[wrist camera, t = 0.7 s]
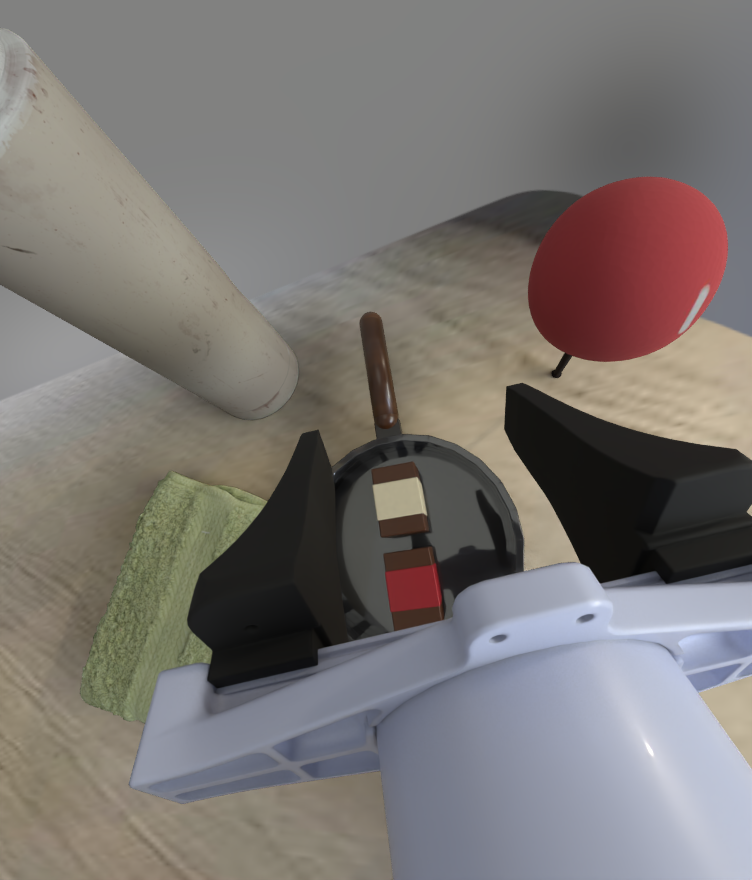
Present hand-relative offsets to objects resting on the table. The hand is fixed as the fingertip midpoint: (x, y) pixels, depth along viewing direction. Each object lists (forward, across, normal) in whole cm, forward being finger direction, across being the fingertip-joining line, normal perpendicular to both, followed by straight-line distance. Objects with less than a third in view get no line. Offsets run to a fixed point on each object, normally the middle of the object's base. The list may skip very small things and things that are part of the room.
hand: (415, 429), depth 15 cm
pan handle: (+15, 0, +6) cm, 16 cm away
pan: (+5, +1, +14) cm, 15 cm away
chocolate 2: (+3, +1, +16) cm, 16 cm away
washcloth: (+6, +18, +17) cm, 25 cm away
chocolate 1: (+7, 0, +12) cm, 14 cm away
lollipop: (+12, -13, +8) cm, 19 cm away
